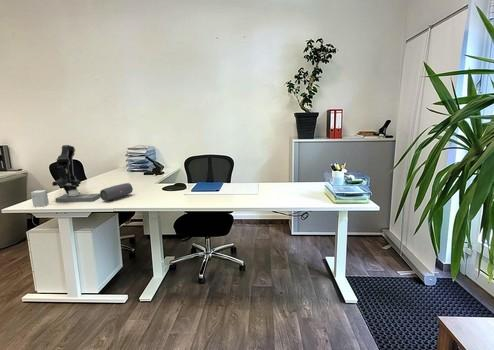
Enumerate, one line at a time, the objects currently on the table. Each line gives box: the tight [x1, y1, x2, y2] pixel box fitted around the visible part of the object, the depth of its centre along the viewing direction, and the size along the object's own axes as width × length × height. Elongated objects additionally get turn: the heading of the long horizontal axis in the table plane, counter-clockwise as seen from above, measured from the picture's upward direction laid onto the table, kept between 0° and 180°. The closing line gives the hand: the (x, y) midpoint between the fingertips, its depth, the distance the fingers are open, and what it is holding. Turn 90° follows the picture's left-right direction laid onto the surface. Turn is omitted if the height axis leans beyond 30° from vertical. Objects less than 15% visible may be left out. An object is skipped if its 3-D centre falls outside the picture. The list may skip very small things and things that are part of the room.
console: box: [54, 192, 101, 203], centre depth 232 cm, size 12×28×3 cm, turn 87°
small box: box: [30, 189, 50, 207], centre depth 220 cm, size 8×6×10 cm
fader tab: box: [68, 189, 80, 196], centre depth 232 cm, size 4×5×4 cm
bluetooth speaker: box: [99, 182, 134, 202], centre depth 232 cm, size 23×9×10 cm, turn 151°
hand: (68, 194), depth 232 cm, fingers closed
